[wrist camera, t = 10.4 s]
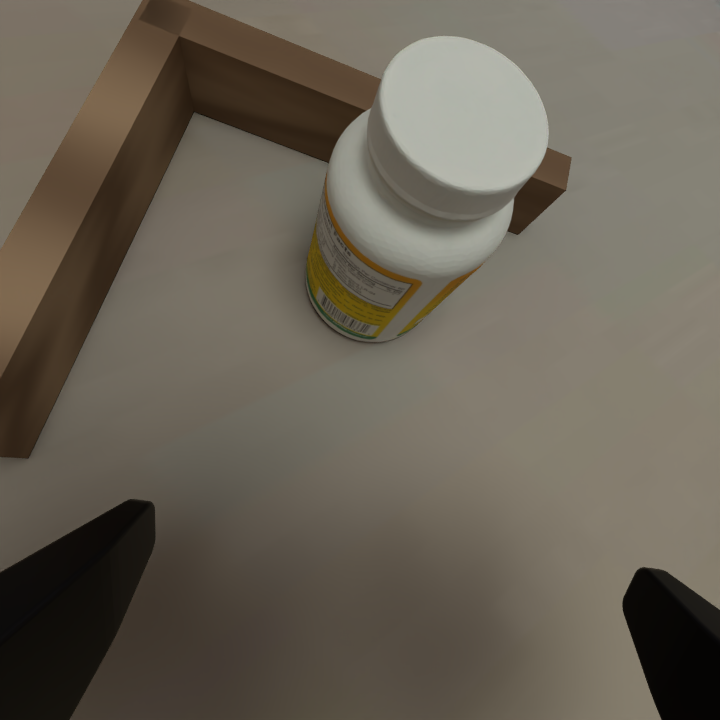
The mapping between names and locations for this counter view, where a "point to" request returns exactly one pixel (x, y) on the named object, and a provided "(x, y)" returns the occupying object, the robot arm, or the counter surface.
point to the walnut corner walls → (159, 177)
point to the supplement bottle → (422, 186)
